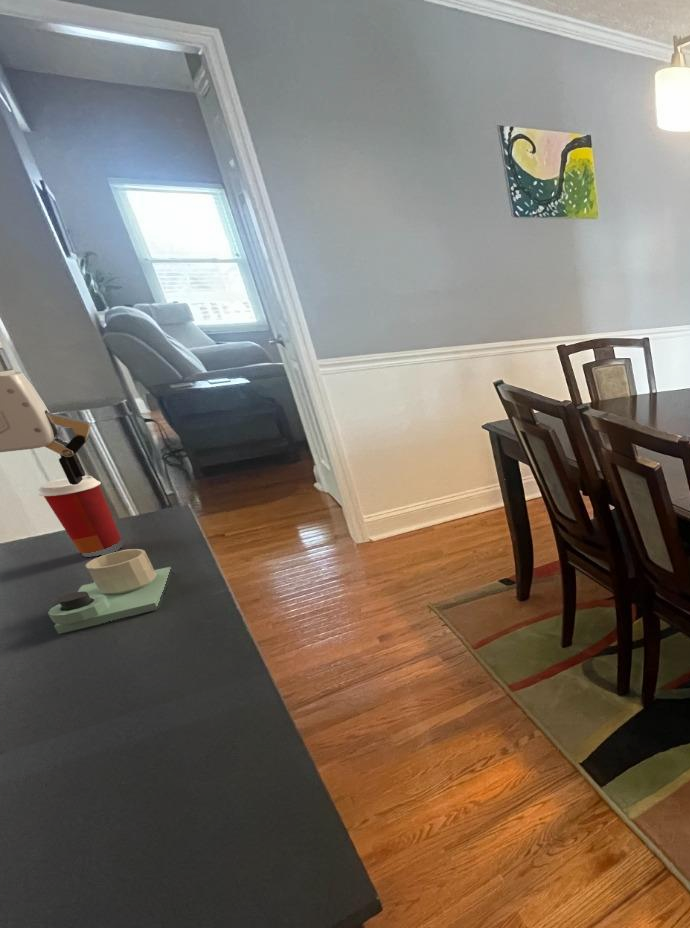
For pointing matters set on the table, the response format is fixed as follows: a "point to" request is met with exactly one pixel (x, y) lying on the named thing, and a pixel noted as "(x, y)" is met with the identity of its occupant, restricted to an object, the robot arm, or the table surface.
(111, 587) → the bowl
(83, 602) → the button
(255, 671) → the table surface
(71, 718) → the table surface
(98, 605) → the scale
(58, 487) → the paper cup
